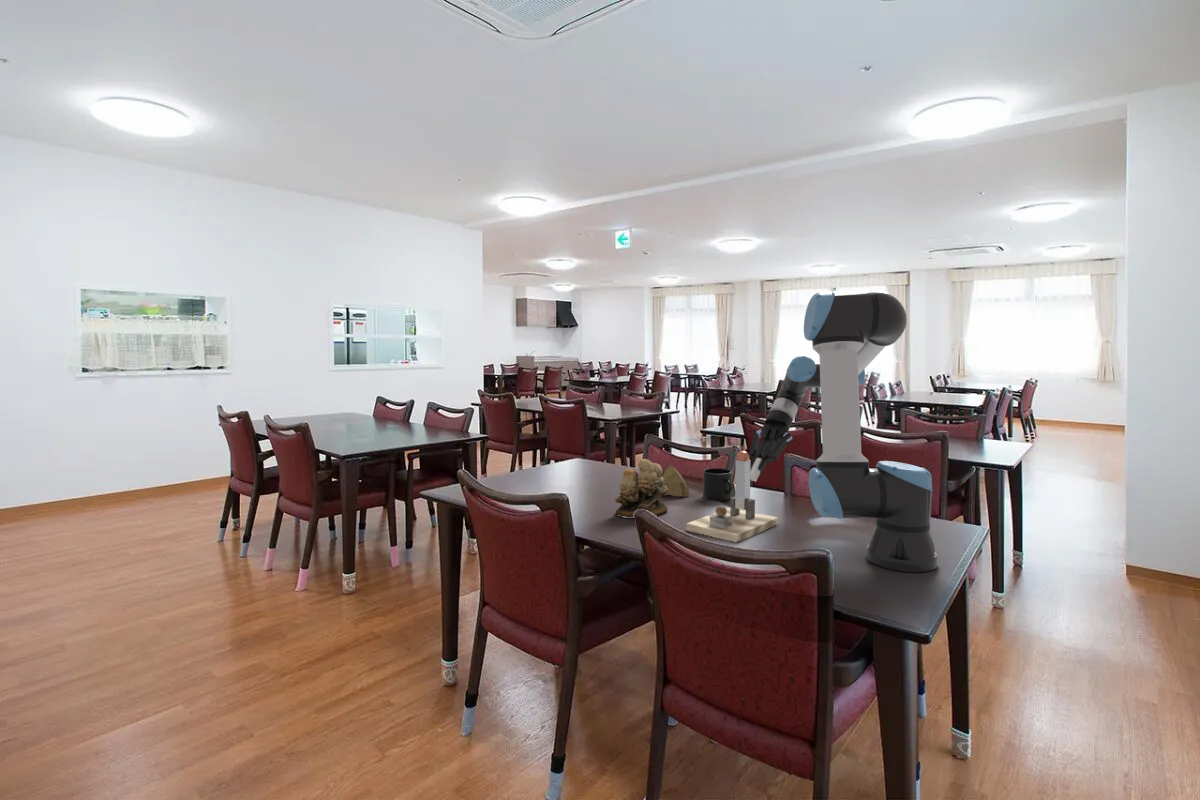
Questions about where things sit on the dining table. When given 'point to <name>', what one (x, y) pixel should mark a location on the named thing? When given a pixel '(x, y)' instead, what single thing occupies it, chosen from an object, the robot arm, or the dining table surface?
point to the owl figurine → (642, 490)
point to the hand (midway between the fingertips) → (752, 478)
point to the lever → (742, 480)
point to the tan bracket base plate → (733, 522)
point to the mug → (717, 484)
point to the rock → (675, 483)
